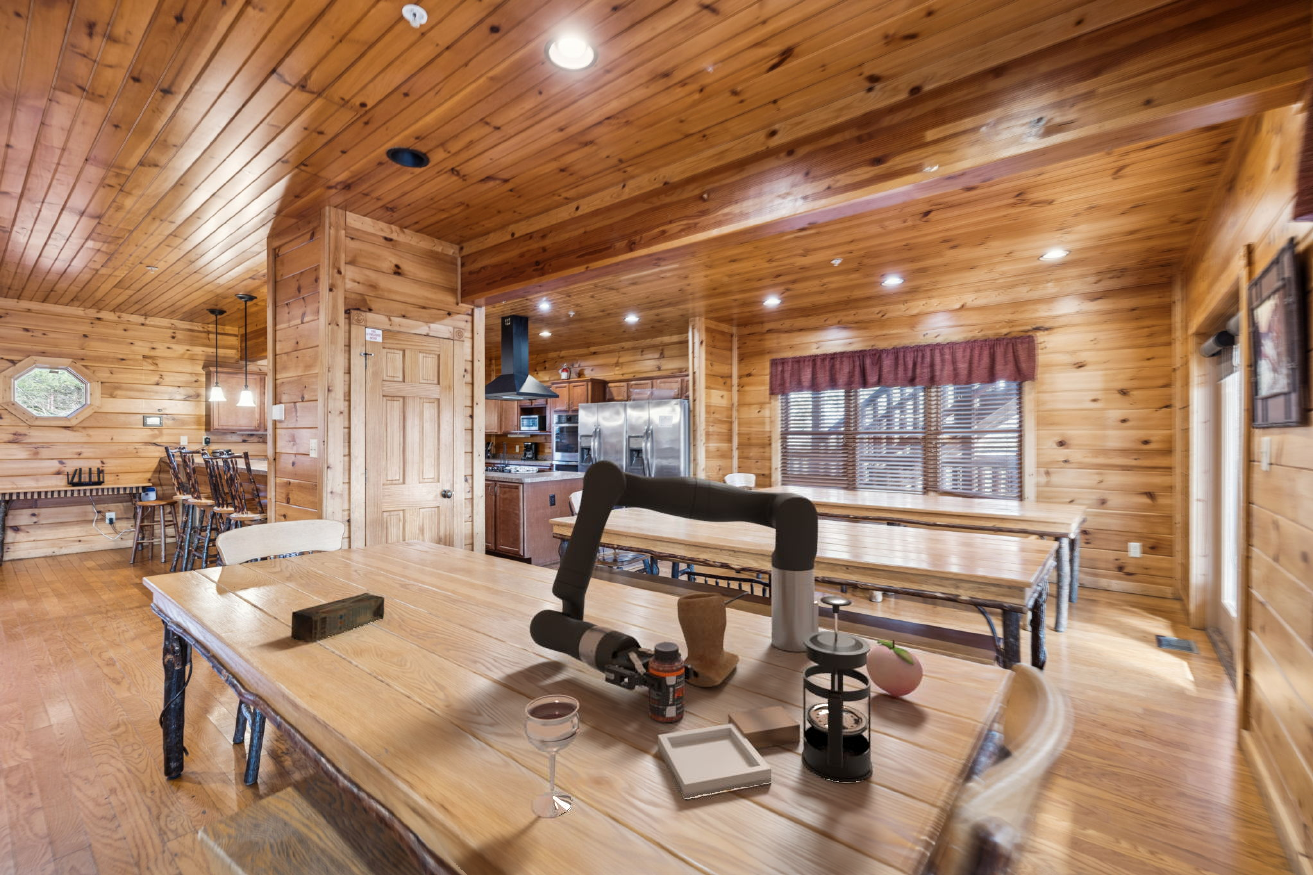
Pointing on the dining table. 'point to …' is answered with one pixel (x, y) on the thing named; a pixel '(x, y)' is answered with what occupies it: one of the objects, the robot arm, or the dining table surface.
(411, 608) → the dining table surface
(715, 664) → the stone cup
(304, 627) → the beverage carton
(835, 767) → the french press
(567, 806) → the wineglass
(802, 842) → the dining table surface
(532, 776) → the dining table surface
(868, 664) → the decorative fruit
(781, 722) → the brown block
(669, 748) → the tray
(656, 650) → the supplement bottle
